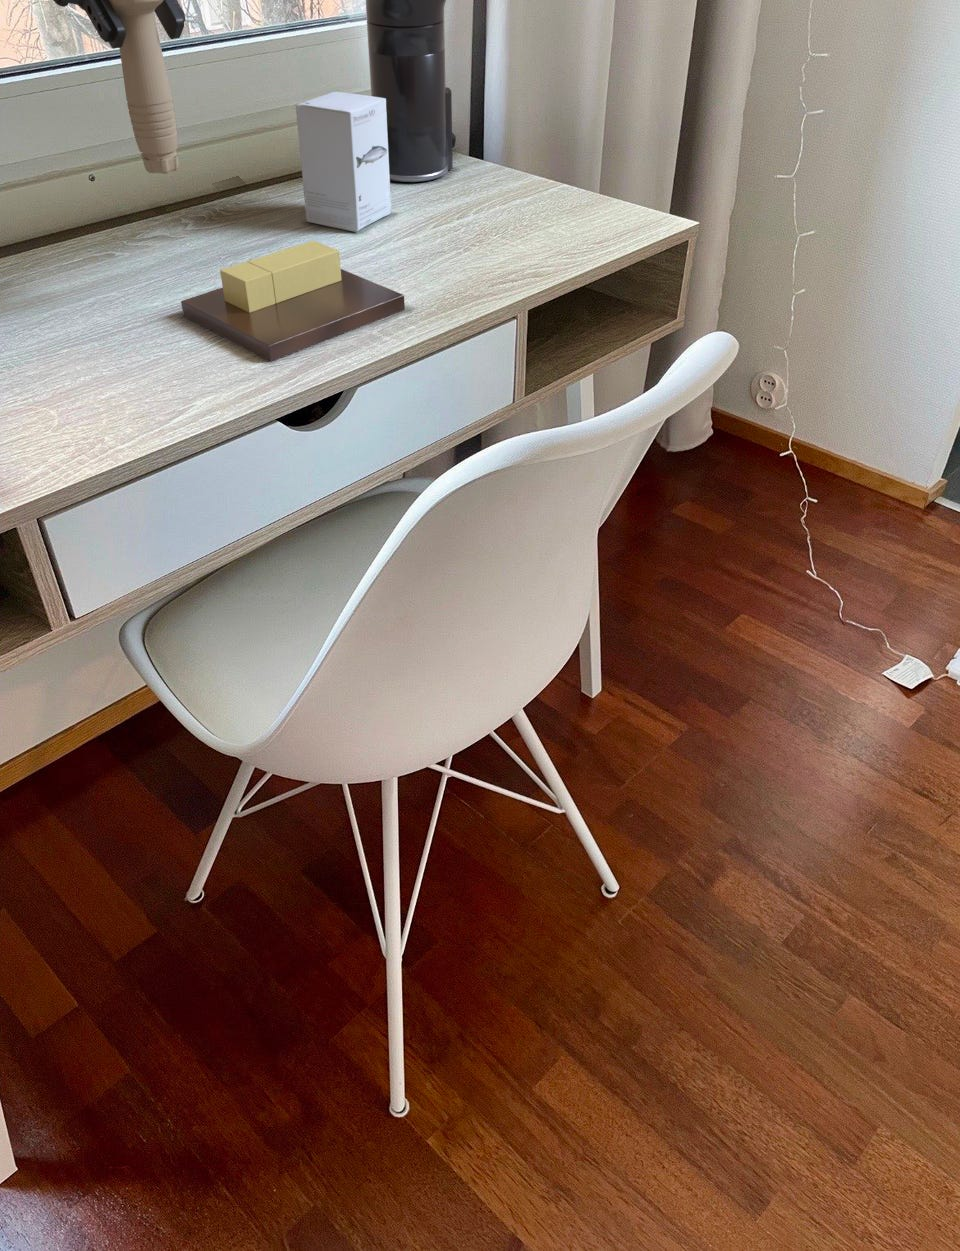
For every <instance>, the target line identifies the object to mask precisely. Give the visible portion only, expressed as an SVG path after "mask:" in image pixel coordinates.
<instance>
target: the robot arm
mask: <svg viewBox="0 0 960 1251" xmlns="http://www.w3.org/2000/svg"><path fill="white" fill-rule="evenodd" d="M53 2H54V3H55V4H56V5H58V6H59V7H68V6H69V4H71V5H75V6H78V7H79V8H80V9H81V10H82V11H84V12H85V14H86V15H87V17H88V19H89V21H90V22H91V24H92V25H93V27H94V29H95V31H96V32H97V34H98V36H99V37H100V38H101V40H102V41H103V42H105V43H108V44H109V46H110V47H111V48H112V49H120V47H122V46H123V43H124V39H125V36H126V31H125V28H124V26H123V24H122V22H121V21H120V19H119V17H118V15H117V14H116V12H115V10H114V8H113V7H112V5H111V3H110V2H109V0H53ZM446 2H447V0H365V16H366V32H367V34H366V35H367V47H368V63H369V65H368V66H369V79H370V83H369V84H370V96H373V97H380V98H385V99H386V113H387V134H388V155H389V176H390V181H393V182H402V183H418V182H420V183H421V182H427V181H432V180H435V179H439V178H441V177H444V176H445V175H447V173H448V171H449V170H453V168H454V166H453V163H454V162H453V149H454V148H455V147H456V142H457V136H456V135H455V134H454V132H453V109H452V108H453V107H452V105H453V104H452V103H453V101H452V100H453V99H452V96H453V95H452V94H453V93H452V89H451V88H450V87H449V86H448V87H447V86H446V48H445V44H446V43H445V37H446V36H445V5H446ZM154 13H155V16H156V17H157V19H158V20H159V22H160V24H161V26H162V28H163V29H164V32H165V33H166V34H167V37H168V38H169V39H170V40H176V39H180V38H181V36H182V33H183V30H184V28H185V22H186V13H185V11H184V10H183V8H182V7H181V5H180V3H179V1H178V0H164V1H163V2H162V3H161V4H160V5H158V6H157V7H156V8H155V11H154Z"/></svg>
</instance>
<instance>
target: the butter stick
mask: <svg viewBox="0 0 960 1251" xmlns="http://www.w3.org/2000/svg"><path fill="white" fill-rule="evenodd" d="M246 262H248V263H250V264H253V265H255V266H257V267H259V268H262V269H264V270H266V271H268V272H271V273H272V281H273V289H274V296H275V303H279V302H282V301H285V300H288V299H290V298H293V297H296V296H299V295H302V294H305V293H308V292H310V291H313V290H316V289H319V288H322V287H325V286H327V285H330V284H333V283H336V282H339V281H341V269H342V268H341V258H340V250H339V249H336V248H334V247H331V246H329V245H326V244H323V243H322V242H319V241H317V240H313V239H312V240H311V241H308V242H304V243H301V244H298V245H294V246H291V247H289V248H285V249H282V250H279V251H276V252H272V253H270V254H266V255H264V256H260V257H257V258H253V259H251V260H247V261H246Z"/></svg>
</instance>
